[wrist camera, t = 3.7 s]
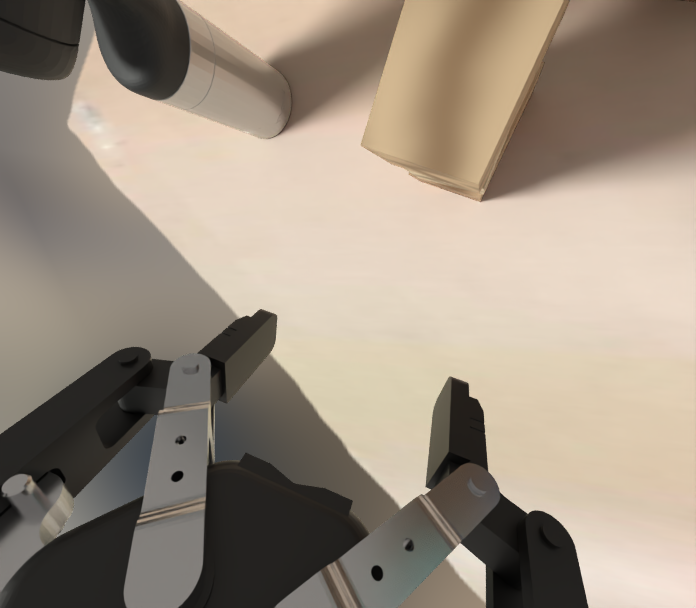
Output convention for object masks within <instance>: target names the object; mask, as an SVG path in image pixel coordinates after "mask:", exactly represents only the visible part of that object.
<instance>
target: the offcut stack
mask: <svg viewBox="0 0 696 608" xmlns="http://www.w3.org/2000/svg"><path fill="white" fill-rule="evenodd" d="M569 1H570V0H405V2H404V5H403V8H402V11H401V15H400V18H399V21H398V24H397V28H396V31H395V34H394V38H393V41H392V44H391V47H390V51H389V54H388V57H387V60H386V64H385V67H384V70H383V73H382V77H381V80H380V83H379V87H378V90H377V93H376V96H375V100H374V103H373V106H372V109H371V113H370V116H369V119H368V122H367V126H366V129H365V132H364V136H363V139H362V142H361V146H362V147H364V148H366V149H367V150H369V151H371V152H372V153H374V154H376V155H377V156H379V157H381V158H382V159H384V160H386V161H387V162H389V163H391V164H393V165H396V166H398V167H401V168H404V169H405V170H407V171H408V172H409V175H411V176H412V177H414V178H416V179H417V180H419V181H421V182H424V183H427V184H430V185H433V186H436V187H439V188H441V189H444V190H447V191H450V192H453V193H456V194H459V195H462V196H465V197H468V198H471V199H473V200H476V201H479V202H480V201H481V199H482V197H483V195H484V193H485V191H486V189H487V187H488V185H489V183H490V180H491V178H492V176H493V174H494V172H495V170H496V168H497V166H498V164H499V162H500V160H501V157H502V155H503V153H504V151H505V149H506V147H507V145H508V143H509V141H510V139H511V136H512V134H513V132H514V130H515V128H516V126H517V124H518V122H519V120H520V118H521V116H522V113H523V111H524V109H525V107H526V105H527V103H528V101H529V99H530V97H531V95H532V93H533V90H534V88H535V85H536V83H537V80H538V78H539V75H540V73H541V70H542V68H543V65H544V63H545V62H542V60H543V58H544V56H545V54H546V52H547V49H548V47H549V45H550V43H551V41H552V39H553V37H554V35H555V32H556V30H557V28H558V26H559V24H560V22H561V20H562V18H563V15H564V13H565V11H566V8H567V6H568V3H569Z"/></svg>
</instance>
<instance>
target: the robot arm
mask: <svg viewBox="0 0 696 608" xmlns="http://www.w3.org/2000/svg"><path fill="white" fill-rule="evenodd" d="M88 3H89V6H90V9H91V13H92V17H93V21H94V26H95V31H96V36H97V41H98V44H99V48H100V51H101V54H102V56H103V59H104V61H105V63H106V65H107V67H108V69H109V70H110V72H111V73H112V75H113V76H114V77H115V78H116V80H117V81H118V82H119V83H120V84H121V85H123V86H124V87H126V88H127V89H129V90H130V91H132V92H134V93H137V94H139V95H142V96H145V97H147V98H150V99H153V100H156V101H159V102H161V103H164V104H167V105H170V106H172V107H175V108H178V109H181V110H184V111H187V112H189V113H192V114H195V115H198V116H201V117H203V118H206V119H209V120H212V121H214V122H217V123H220V124H223V125H225V126H228V127H231V128H234V129H236V130H239V131H242V132H244V133H247V134H250V135H253V136H256V137H259V138H263V139H268V138H272V137H274V136H276V135H277V134H278V133H280V132H281V131H282V129H283V128H284V127H285V125H286V123H287V121H288V119H289V116H290V112H291V105H292V104H291V92H290V88H289V85H288V83H287V81H286V79H285V78H284V76H283V75H282V74H281V73H280V72H279V71H277V70H276V69H274V68H273V67H272V66H270V65H269V64H267V63H266V62H265V61H263V60H262V59H261V58H259V57H258V56H257V55H255V54H254V53H252V52H251V51H250V50H248V49H247V48H246V47H244V46H243V45H241V44H240V43H239V42H237V41H236V40H234V39H233V38H232V37H230V36H229V35H228V34H226V33H225V32H223V31H222V30H221V29H219V28H218V27H216V26H215V25H214V24H212V23H211V22H210V21H208V20H207V19H205V18H204V17H203V16H201V15H200V14H198V13H197V12H196V11H194V10H193V9H191V8H190V7H188V6H187V5H186V4H184V3H183V2H182V1H180V0H88ZM84 7H85V0H0V71H3V72H6V73H10V74H15V75H19V76H23V77H29V78H34V79H41V80H61V79H64V78H66V77H68V76H69V75H70V73H71V71H72V69H73V67H74V65H75V62H76V58H77V53H78V46H79V44H78V43H79V41H80V34H81V27H82V20H83V13H84ZM276 328H277V315H276V314H273V313H271V312H268V311H265V310H262V309H260V310H259V311H257V312H256V313H255V314H254V315H253V316H252V317H249V316H245V317H242V318H240V319H237V320H235V322H233V323H232V324H231V325H230V326H228V328H226V329H225V330H224V331H223V332H222V333H221V334H219V335H218V336H217V337H216V338H214V339H213V340H212V341H211V342H210V343H209V344H207V345H206V346H205V347H204V348H203V349H202V350H200V351H199V352H198V353H197V354H194V353H193V354H187V355H183V356H181V357H179V358H178V359H176V360H175V361H166V360H156V359H151V354H150V352H149V351H148V350H146V349H144V348H140V347H131V348H125V349H122V350H119V351H117V352H115V353H114V354H112V355H111V356H109V357H108V358H107V359H105V360H104V361H102V362H101V363H100V364H98V365H97V366H95V367H94V368H93V369H91V370H90V371H88V372H87V373H86V374H84V375H83V376H81V377H80V378H79V379H77V380H76V381H74V382H73V383H72V384H70V385H69V386H67V387H66V388H65V389H63V390H62V391H60V392H59V393H58V394H56V395H55V396H53V397H52V398H51V399H49V400H48V401H46V402H45V403H44V404H42V405H41V406H39V407H38V408H37V409H35V410H34V411H32V412H31V413H30V414H28V415H27V416H25V417H24V418H22V419H21V420H20V421H18V422H17V423H16V424H14V425H13V426H11V427H10V428H8V429H7V430H6V431H4V432H3V433H1V434H0V608H398V606H399V605H400V604H401V603H402V602H403V601H404V600H405V599H406V598H407V597H408V596H409V595H410V594H411V593H412V592H413V591H414V590H415V589H416V588H417V587H418V586H419V585H420V584H421V583H422V582H423V581H424V579H426V577H428V576H429V574H430V573H431V572H432V571H433V570H434V569H435V568H436V567H437V566H438V565H439V564H440V563H441V562H442V561H443V560H444V559H445V558H446V557H447V556H448V555H449V554H450V553H451V552H452V551H453V550H454V549H455V548H456V547H457V545H458V544H459V543H461V544H462V545H463V546H465V547H466V548H467V549H468V550H469V551H470V552H472V553H473V554H474V555H475V556H476V557H477V558H479V559H480V560H481V561H482V562H483V563H484V564H486V608H588V603H587V599H586V594H585V590H584V585H583V581H582V576H581V572H580V567H579V562H578V558H577V553H576V549H575V545H574V543H573V540H572V538H571V537H570V535H569V533H568V532H567V530H566V529H565V528H564V527H563V525H562V524H561V523H560V522H559V521H557V520H556V519H555V518H554V517H552V516H551V515H549V514H547V513H545V512H542V511H532V512H530V513H529V514H527V513H526V512H524V511H523V510H522V509H520V508H519V507H518V506H516V505H515V504H514V503H512V502H511V501H509V500H508V499H507V498H506V497H504V496H503V495H502V494H501V493H500V491H499V487H498V485H497V483H496V481H495V479H494V478H493V477H492V475H491V474H490V473H489V472H488V464H487V451H486V438H485V434H484V433H485V425H484V412H483V410H482V408H481V406H480V404H479V402H478V400H477V399H475V398H472V397H469V384H468V383H467V382H464V381H462V380H459V379H456V378H453V377H449V378H448V380H447V382H446V383H445V385H444V387H443V389H442V391H441V393H440V395H439V397H438V399H437V401H436V403H435V406H434V410H433V417H432V427H431V437H430V447H429V457H428V467H427V477H426V487H427V488H429V489H431V490H430V491H429V492H428V493H427V494H425V495H422V494H421V495H419V496H418V497H416V498H415V499H413V500H412V501H411V502H410V503H408V504H407V505H406V506H405V507H403V508H402V509H401V510H400V511H398V512H397V513H396V514H395V515H393V516H392V517H391V518H390V519H388V520H387V521H386V522H384V523H383V524H382V525H381V526H380V527H378V528H377V529H376V530H374V531H373V532H372V533H371V534H370V533H369V531H368V530H367V528H366V527H365V525H364V524H363V522H362V521H361V520H360V519H359V518H358V516H357V515H356V514H355V513H353V512H352V511H351V510H350V509H351V505H352V502H353V501H352V500H350V499H348V498H345V497H343V496H340V495H339V494H336V493H334V492H332V491H330V490H327V489H325V488H319V487H312V486H306V485H299V484H295V483H293V482H291V481H290V480H289V479H288V478H287V477H285V476H284V475H283V474H282V473H281V472H279V471H278V470H277V469H276V468H275V467H274V466H272V465H271V464H270V463H268V462H265V461H263V460H261V459H259V458H256V457H254V456H252V455H250V454H247V453H245V455H244V456H243V458H242V459H241V461H239V460H227V461H221V462H217V463H215V455H214V422H215V421H214V419H215V411H214V410H215V408H214V404H215V403H216V402H217V401H218V400H219V401H222V402H224V403H228V402H229V401H230V400H231V398H232V397H233V396H234V395H235V394H236V392H237V391H238V390H239V389H240V388H241V386H242V385H243V384H244V383H245V382H246V381H247V379H248V378H249V377H250V376H251V375H252V374H253V372H254V371H255V370H256V369H257V368H258V366H259V365H260V364H261V363H262V362H263V360H264V359H265V358H266V357H267V356H268V355H269V353H270V352H271V351H272V349H273V347H274V344H275V340H276ZM154 415H158V417H157V423H156V429H155V434H154V440H153V446H152V452H151V458H150V463H149V469H148V475H147V481H146V486H145V492H144V496H142V497H140V498H137V499H135V500H133V501H131V502H129V503H127V504H125V505H123V506H121V507H118V508H117V509H114V510H112V511H110V512H108V513H106V514H104V515H102V516H100V517H97V518H95V519H94V520H91V521H90V522H87V523H85V524H83V525H81V526H78V527H76V528H74V529H72V530H70V531H68V532H66V533H64V534H62V535H60V536H59V537H57V535H58V534H59V533H60V532H61V531H62V530H63V528H64V526H65V523H66V522H67V520H68V519H69V517H70V516H71V514H72V511H73V508H74V497H76V496H77V494H78V493H79V492H80V491H81V490H82V489H83V488H84V487H85V486H86V485H87V484H88V483H89V482H90V481H91V480H92V479H93V478H94V477H95V476H96V475H97V474H98V473H99V472H100V471H101V470H102V469H103V468H104V467H105V466H106V464H107V463H109V461H110V460H111V459H112V458H113V457H114V456H115V455H116V454H117V453H118V452H119V451H120V450H121V449H122V448H123V447H124V446H125V445H126V444H127V443H128V442H129V441H130V440H131V439H132V438H133V437H134V436H135V435H136V433H138V432H139V430H140V429H141V428H142V427H143V426H144V425H145V424H146V423H147V422H148V421H149V420H150V419H151V418H152V417H153V416H154ZM56 537H57V538H56Z"/></svg>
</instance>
